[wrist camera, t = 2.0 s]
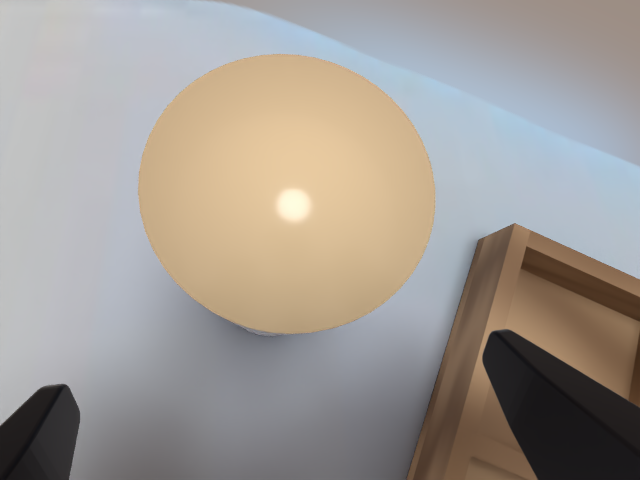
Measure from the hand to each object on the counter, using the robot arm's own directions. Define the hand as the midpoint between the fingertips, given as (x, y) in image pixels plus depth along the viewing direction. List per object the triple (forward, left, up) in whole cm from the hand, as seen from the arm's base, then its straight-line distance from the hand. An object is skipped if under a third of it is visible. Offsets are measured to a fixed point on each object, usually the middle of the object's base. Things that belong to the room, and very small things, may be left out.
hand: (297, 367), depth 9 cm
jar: (+3, +2, -10) cm, 11 cm away
